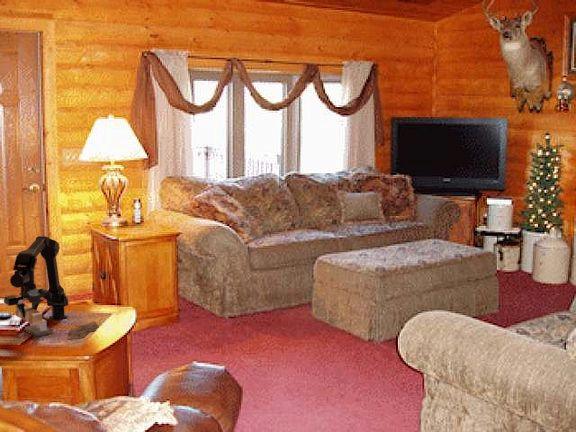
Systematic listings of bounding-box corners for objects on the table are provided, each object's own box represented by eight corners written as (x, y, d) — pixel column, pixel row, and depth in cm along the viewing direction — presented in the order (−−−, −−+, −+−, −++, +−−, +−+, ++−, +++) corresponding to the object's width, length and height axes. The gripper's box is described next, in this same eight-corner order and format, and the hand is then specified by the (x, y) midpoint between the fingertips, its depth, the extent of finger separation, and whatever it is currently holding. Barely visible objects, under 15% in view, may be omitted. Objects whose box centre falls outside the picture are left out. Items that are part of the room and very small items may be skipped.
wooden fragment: (80, 341, 311) (80, 339, 310) (57, 339, 313) (57, 336, 313) (107, 323, 335) (107, 321, 335) (86, 321, 338) (86, 319, 338)
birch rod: (15, 315, 313) (15, 305, 312) (24, 313, 316) (24, 303, 315) (33, 325, 300) (33, 314, 299) (42, 323, 303) (42, 313, 302)
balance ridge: (24, 330, 323) (23, 317, 322) (41, 326, 328) (41, 314, 327) (35, 336, 314) (35, 323, 313) (53, 333, 320) (52, 320, 319)
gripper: (13, 289, 293) (15, 325, 296) (56, 281, 306) (57, 316, 308) (2, 283, 301) (4, 319, 304) (45, 276, 314) (46, 311, 316)
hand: (28, 316), depth 308 cm, fingers closed on birch rod, 4 cm apart
